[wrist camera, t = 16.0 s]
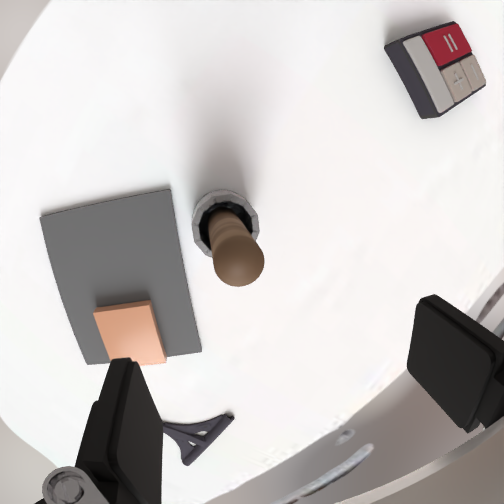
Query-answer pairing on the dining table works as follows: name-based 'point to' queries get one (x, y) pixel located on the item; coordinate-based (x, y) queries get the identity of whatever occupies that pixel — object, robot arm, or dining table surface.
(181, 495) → the dining table surface
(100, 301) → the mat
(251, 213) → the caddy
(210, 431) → the bracket
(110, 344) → the tile
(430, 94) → the calculator
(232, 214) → the rod
